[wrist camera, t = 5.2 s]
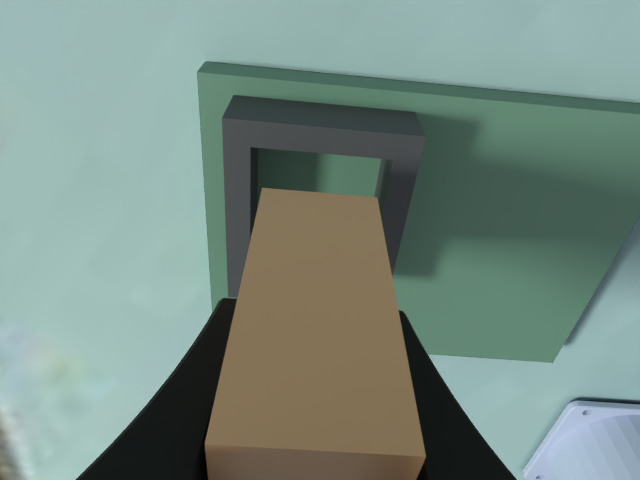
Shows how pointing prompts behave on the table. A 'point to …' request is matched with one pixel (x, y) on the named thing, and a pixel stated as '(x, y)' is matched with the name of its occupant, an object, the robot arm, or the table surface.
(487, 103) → the board
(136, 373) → the table surface
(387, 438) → the plug
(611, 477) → the robot arm
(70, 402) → the table surface
